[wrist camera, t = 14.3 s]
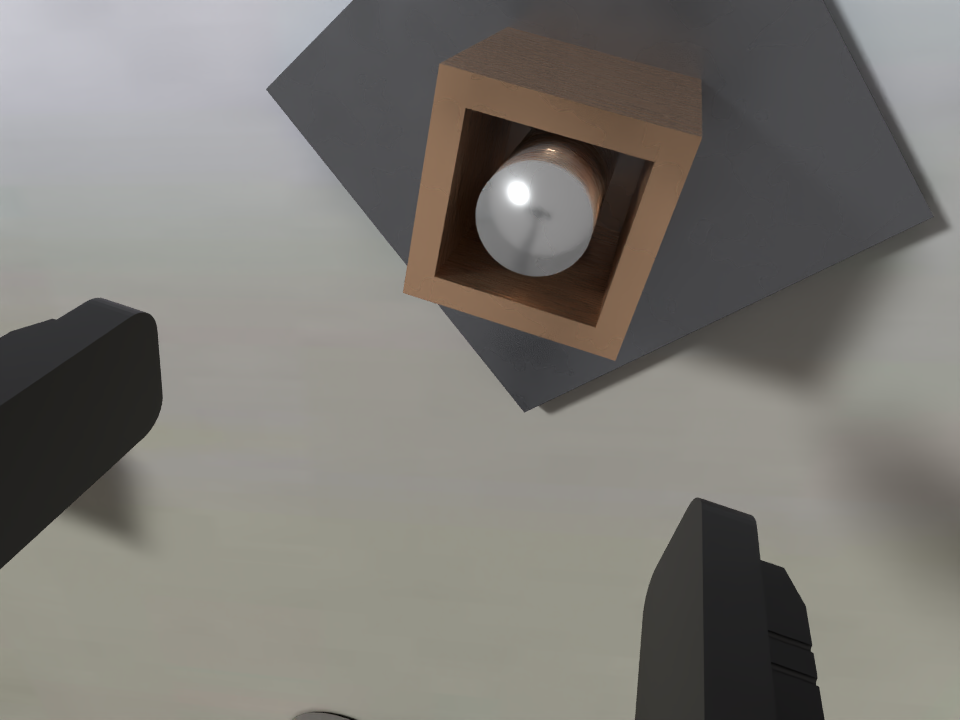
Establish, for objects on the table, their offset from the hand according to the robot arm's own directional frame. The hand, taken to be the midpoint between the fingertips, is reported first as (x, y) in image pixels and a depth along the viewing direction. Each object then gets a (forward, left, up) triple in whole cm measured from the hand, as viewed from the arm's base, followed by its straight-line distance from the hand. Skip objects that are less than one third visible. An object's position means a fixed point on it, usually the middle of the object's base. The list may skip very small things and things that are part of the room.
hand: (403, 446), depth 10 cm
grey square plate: (0, 0, -17) cm, 17 cm away
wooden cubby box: (0, 0, -16) cm, 16 cm away
